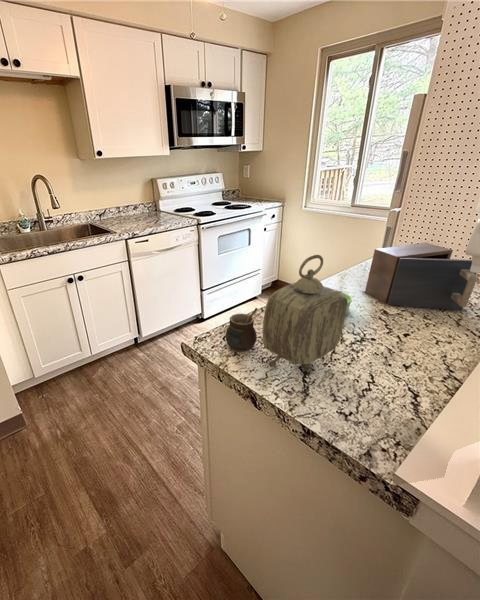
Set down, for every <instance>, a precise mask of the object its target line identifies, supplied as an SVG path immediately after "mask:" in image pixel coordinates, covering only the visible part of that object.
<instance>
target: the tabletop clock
mask: <svg viewBox="0 0 480 600" xmlns="http://www.w3.org/2000/svg"><path fill="white" fill-rule="evenodd" d="M315 259H319V261H320V263H319V266H318V267H317V268H316V269H315V270H314V269H308V270H307V273H306V274H303V268H304V267H305V266H306V265H307V264H308V263H310V261H312V260H315ZM323 266H324V258H323V256H322V255H320V254H314V255H310V256H308V257H307V258H305V259H304V261H302V263H301V265H300V267H299V270H298V275H299V276H300V278H298V280H297V281H296V282H293V283H289V284H287V285H285V286H282V287H281V288H279V289H277V290H275V291H274V292H273V293H271V295H269V297H268V299H267V302H266V304H265V305H266V306H265V309H264V315H263V322H262V345H263V347H264V349H266V350H267V351H270V352H271V353H273V354H275V355H276V357H275V358H274V359H270V360H269V361H268V362H267V364H268V366H269V367H270V368H275V367H276V366H277V362H278V361H279V360H280V359H281V358H282V359H284V360H286V361H288V362H289V363H291V364H292V365H302V366H303V368H304V369H306V370H311V368H312V363H314V362H315V361H317V360H320V359H321V358H323V357H324V356H326V355H328V354H329V353H331V352H332V351H333V350H334V349H335V348H336V347H337V346H338V345H339V342H340V339H341V337H342V333H343V330H344V329H343V328H344V326H345V320H346V315H347V313H346V310H347V298H346V297H345V296H344V295H343V294H342V291H340V290H338V289H335V288H330V287H329V286H325V285H323V283H322V282H321V281H320V280H319V279H318V278H317V277H314V276H315V275H317V274H318V273H319V272H320V271H321V269H322V268H323Z"/></svg>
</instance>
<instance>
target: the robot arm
mask: <svg viewBox="0 0 480 600" xmlns="http://www.w3.org/2000/svg"><path fill="white" fill-rule="evenodd" d="M475 210H476V212H478V213H480V199H479V200H478V203H477V206H476V209H475ZM464 252H465V255H466V256H471V260H472V265H471V268H470V271H471V272H474V273H476V274H480V219H478V221H477V222H476V224H475V226H474V227H473V230H472V232H471V235H470V237H469V240H468V242H467V245H466V247H465V251H464Z"/></svg>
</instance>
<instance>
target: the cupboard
mask: <svg viewBox="0 0 480 600" xmlns="http://www.w3.org/2000/svg"><path fill="white" fill-rule="evenodd" d="M453 251H454V249H451V248H447V247H444V246H440V245H436V244H433V243H429V242H420V243H413V244H405V245H396V246H388V247H380V248H374V250H373V256H372V260H371V264H370V268H369V273H368V275H367V276H368V277H367V281H366V285H365V289H364V293H365V294H367V295H369V296H370V297H373V298H375V299H376V300H378V301H380V302H382V303H384V304H387V302H388V299H389V295H390V291H391V288H392V284H393V280H394V277H395V273H396V269H397V266H398V262H399V258H425V259H451V257H452V255H453Z"/></svg>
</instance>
